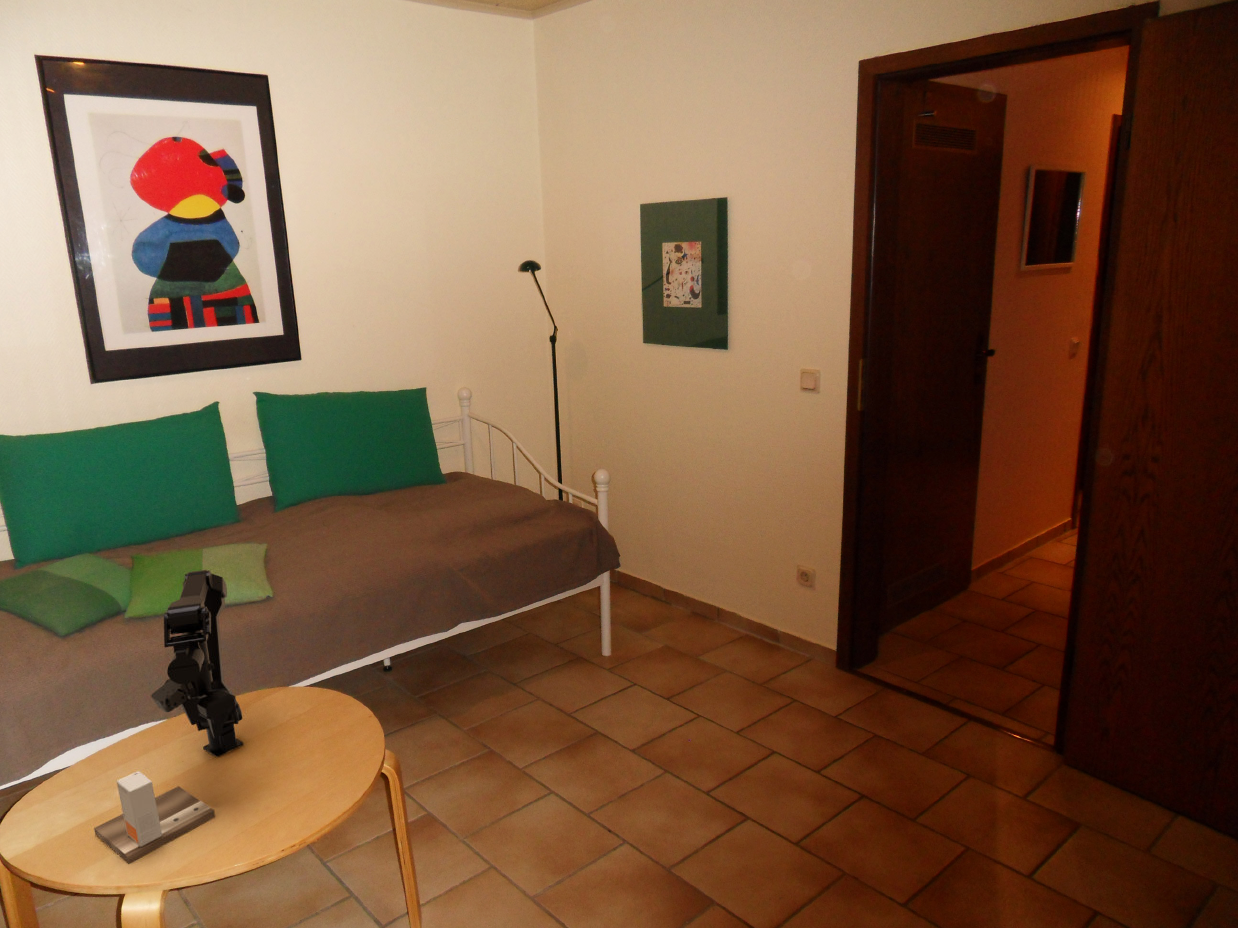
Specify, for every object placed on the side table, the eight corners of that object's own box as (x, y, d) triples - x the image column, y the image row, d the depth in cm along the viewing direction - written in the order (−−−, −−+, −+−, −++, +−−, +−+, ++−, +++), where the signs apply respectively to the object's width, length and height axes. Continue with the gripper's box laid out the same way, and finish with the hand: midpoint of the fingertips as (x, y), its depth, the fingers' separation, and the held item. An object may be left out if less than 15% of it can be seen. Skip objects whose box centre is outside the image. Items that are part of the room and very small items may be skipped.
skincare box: (126, 835, 164) (115, 780, 161) (149, 823, 167) (139, 769, 165) (139, 848, 160) (129, 791, 158) (163, 835, 164) (153, 780, 161)
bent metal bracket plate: (95, 834, 167) (93, 826, 167) (179, 792, 180) (178, 784, 180) (129, 863, 159) (127, 855, 158) (215, 816, 171) (213, 809, 171)
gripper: (132, 665, 175) (144, 734, 178) (176, 690, 164) (189, 763, 167) (186, 645, 183) (197, 711, 187) (232, 667, 172) (243, 737, 176)
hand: (205, 730), depth 179 cm, fingers open, 9 cm apart
